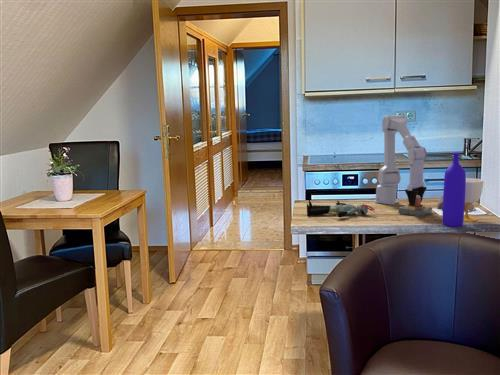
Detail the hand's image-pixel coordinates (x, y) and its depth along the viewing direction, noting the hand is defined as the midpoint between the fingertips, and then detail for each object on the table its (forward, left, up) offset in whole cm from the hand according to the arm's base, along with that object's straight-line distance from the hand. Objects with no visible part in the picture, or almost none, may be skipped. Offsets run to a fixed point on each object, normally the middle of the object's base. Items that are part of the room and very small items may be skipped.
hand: (415, 203), depth 233 cm
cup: (+22, +2, -5) cm, 23 cm away
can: (0, 0, -2) cm, 2 cm away
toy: (-27, -20, -5) cm, 34 cm away
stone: (+11, +20, -5) cm, 24 cm away
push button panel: (0, 0, -4) cm, 4 cm away
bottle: (+21, -12, -5) cm, 24 cm away
